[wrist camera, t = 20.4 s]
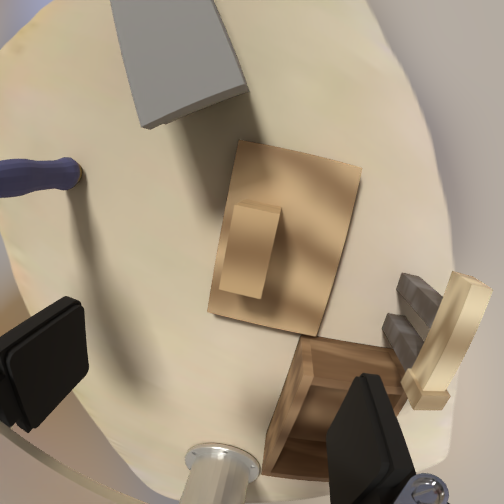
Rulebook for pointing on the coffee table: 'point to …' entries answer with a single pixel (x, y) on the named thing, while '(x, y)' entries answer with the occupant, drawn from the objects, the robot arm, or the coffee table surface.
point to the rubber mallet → (37, 175)
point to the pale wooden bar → (446, 342)
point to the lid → (282, 237)
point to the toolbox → (339, 385)
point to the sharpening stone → (175, 57)
